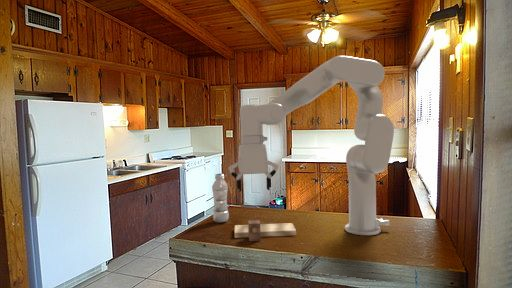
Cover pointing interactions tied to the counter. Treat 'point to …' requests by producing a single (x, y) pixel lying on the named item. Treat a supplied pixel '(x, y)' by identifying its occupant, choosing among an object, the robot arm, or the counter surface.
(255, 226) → the brown handled block
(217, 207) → the plastic bottle
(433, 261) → the counter surface
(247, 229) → the board
